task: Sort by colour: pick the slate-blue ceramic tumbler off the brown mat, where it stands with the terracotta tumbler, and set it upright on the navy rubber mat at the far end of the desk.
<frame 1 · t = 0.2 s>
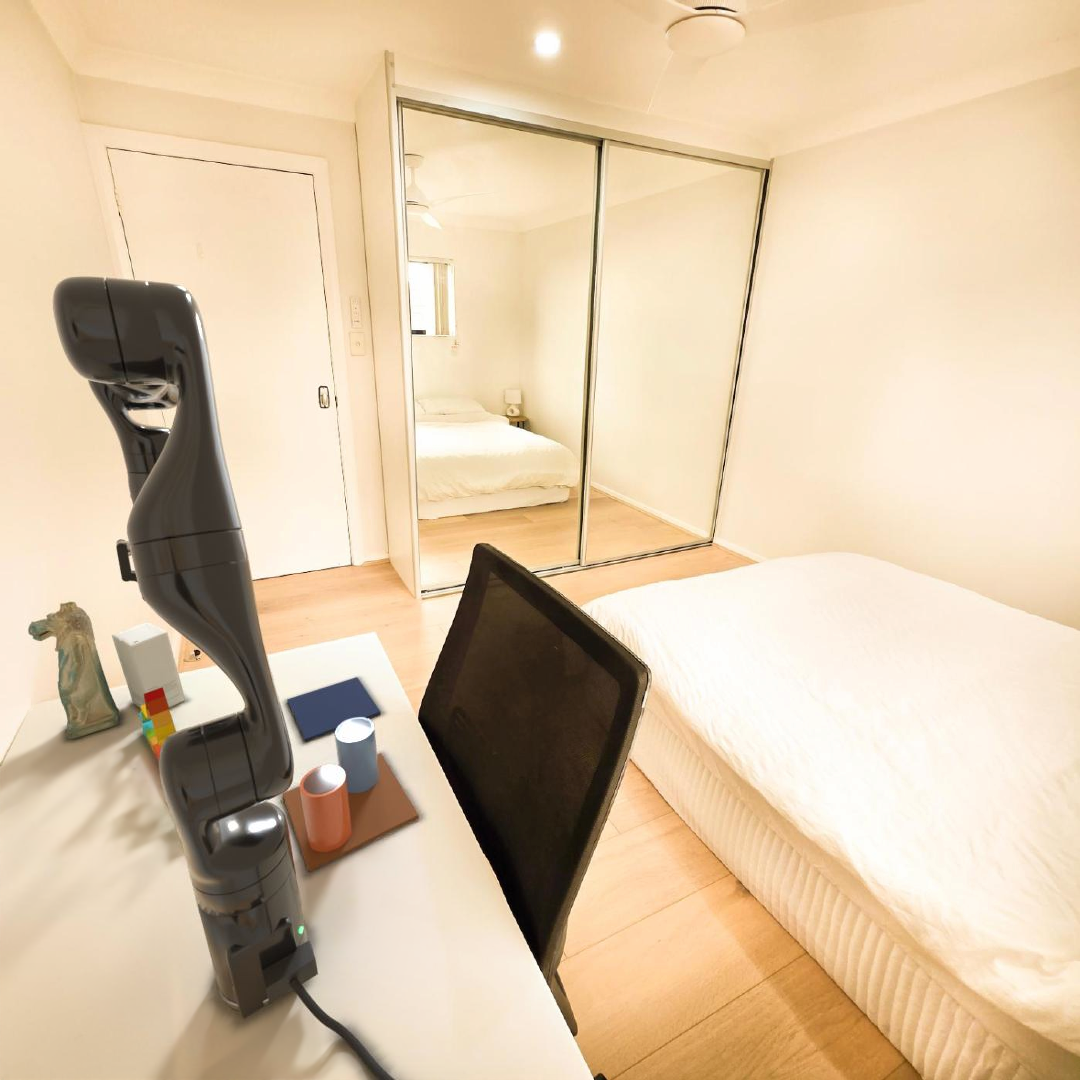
hand: (184, 595, 85), 29 cm above the table, tool pointing down, fingers open, 8 cm apart
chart: (178, 773, 88), on the table
statue: (93, 727, 98), on the table
navy mat: (333, 707, 105), on the table
brown mat: (349, 806, 83), on the table
terracotta tumbler: (330, 834, 77), point 1 cm above the table, touching brown mat
blue tumbler: (360, 779, 87), point 1 cm above the table, touching brown mat
cosmetic box: (158, 702, 105), on the table
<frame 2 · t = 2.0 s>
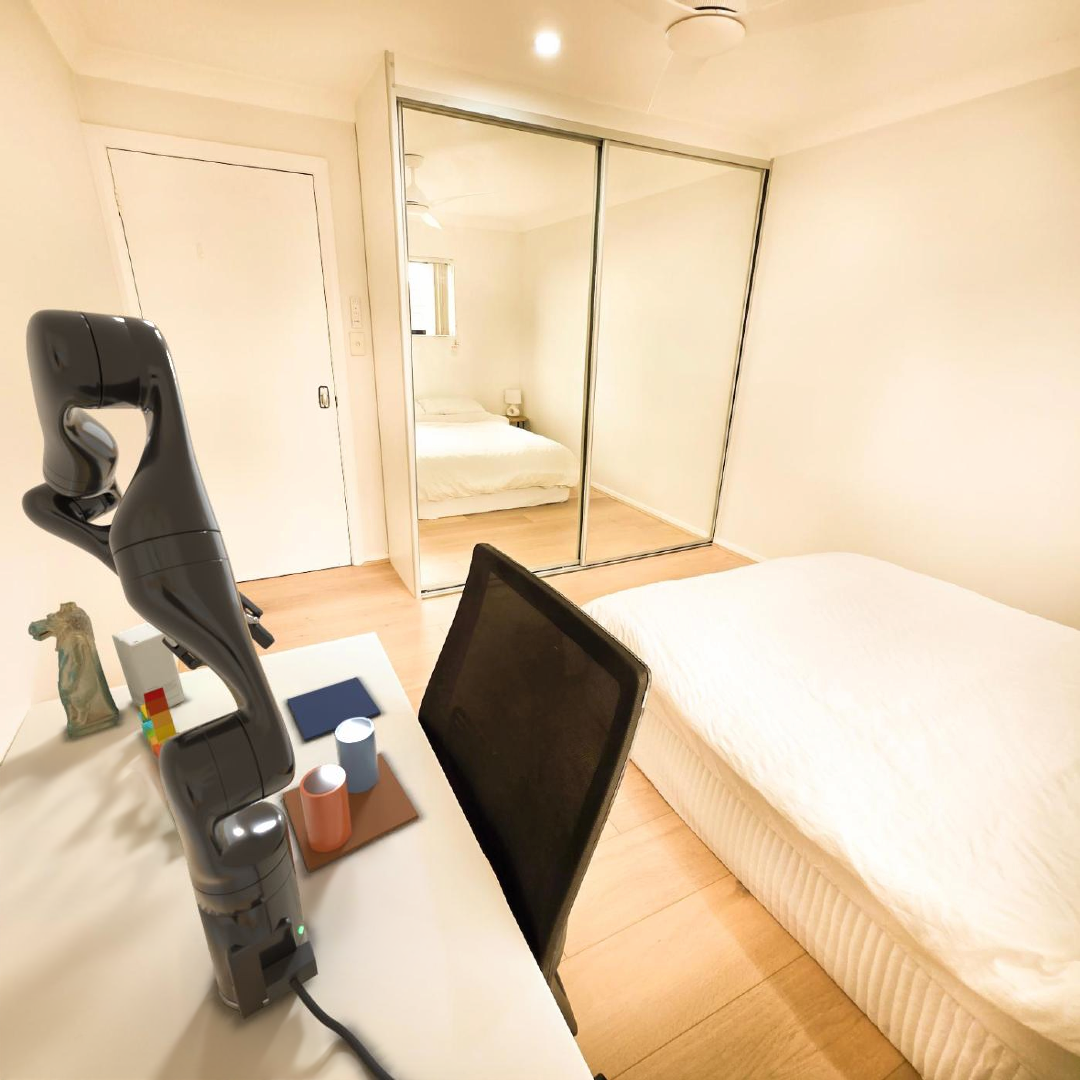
hand: (254, 660, 80), 23 cm above the table, tool tilted 45°, fingers open, 8 cm apart
nothing on the table moved.
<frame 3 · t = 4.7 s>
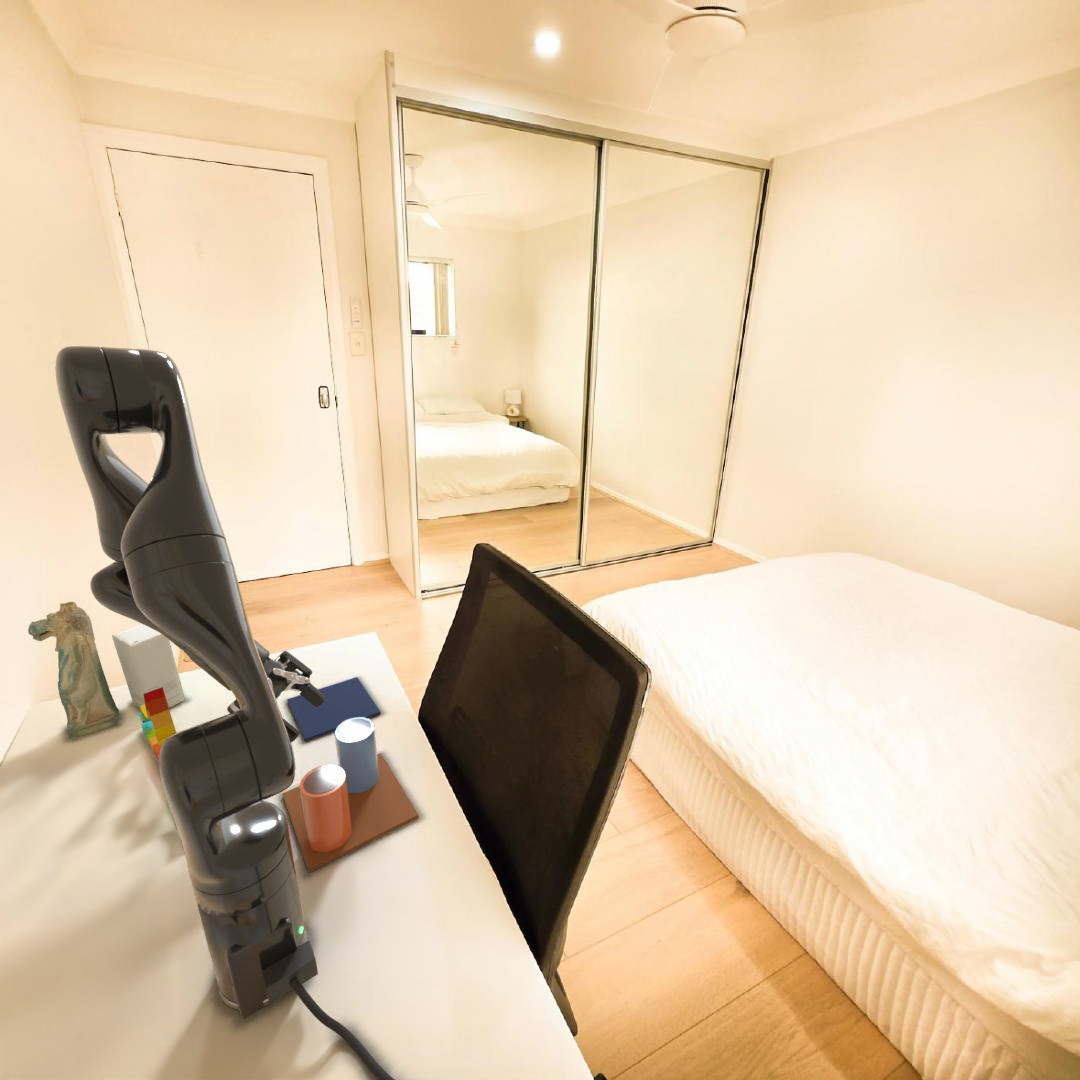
hand: (309, 719, 84), 12 cm above the table, tool tilted 45°, fingers open, 8 cm apart
nothing on the table moved.
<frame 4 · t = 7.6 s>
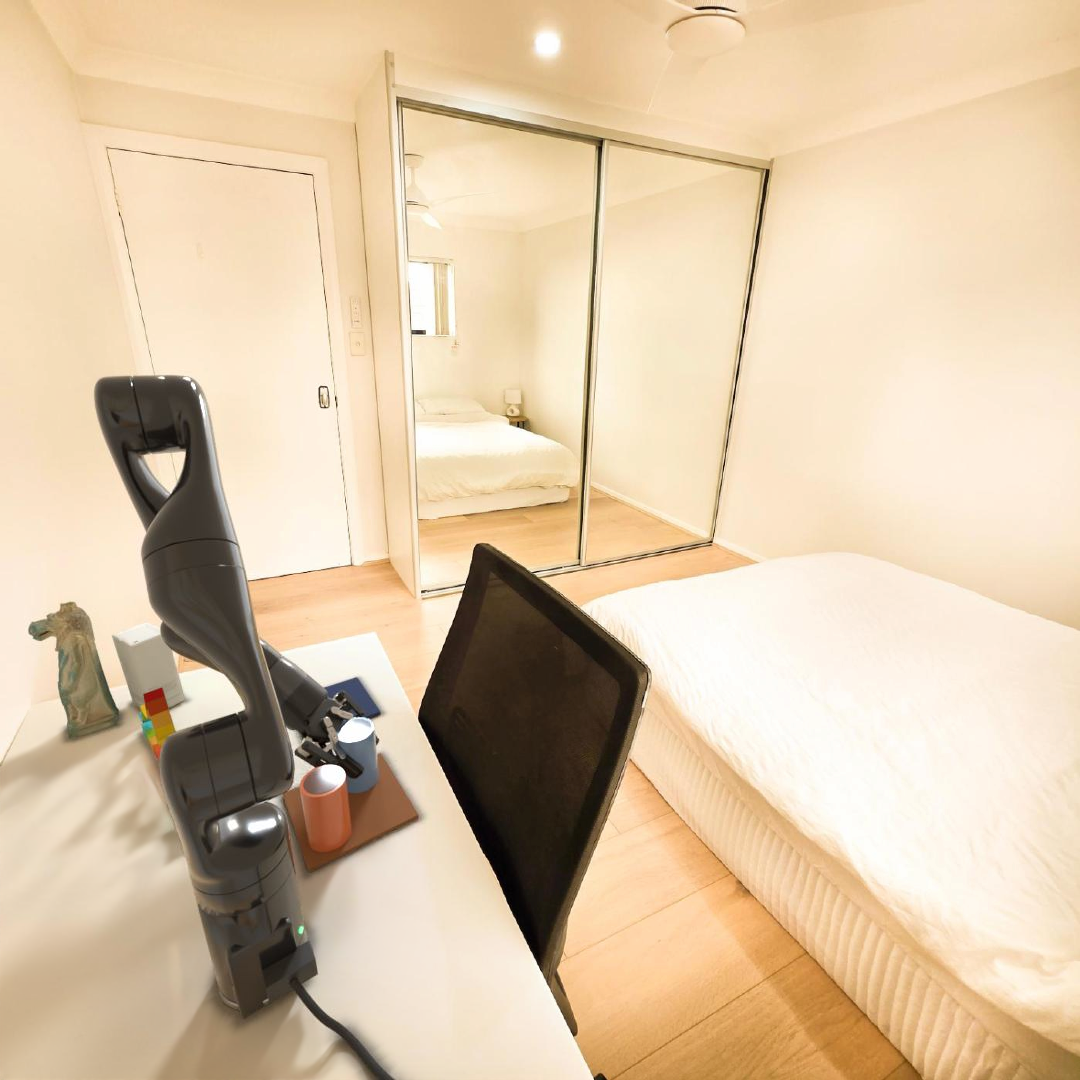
hand: (368, 758, 86), 5 cm above the table, tool tilted 45°, fingers closed on blue tumbler, 6 cm apart
blue tumbler: (360, 779, 87), point 1 cm above the table, touching brown mat, gripper
everything else where it was.
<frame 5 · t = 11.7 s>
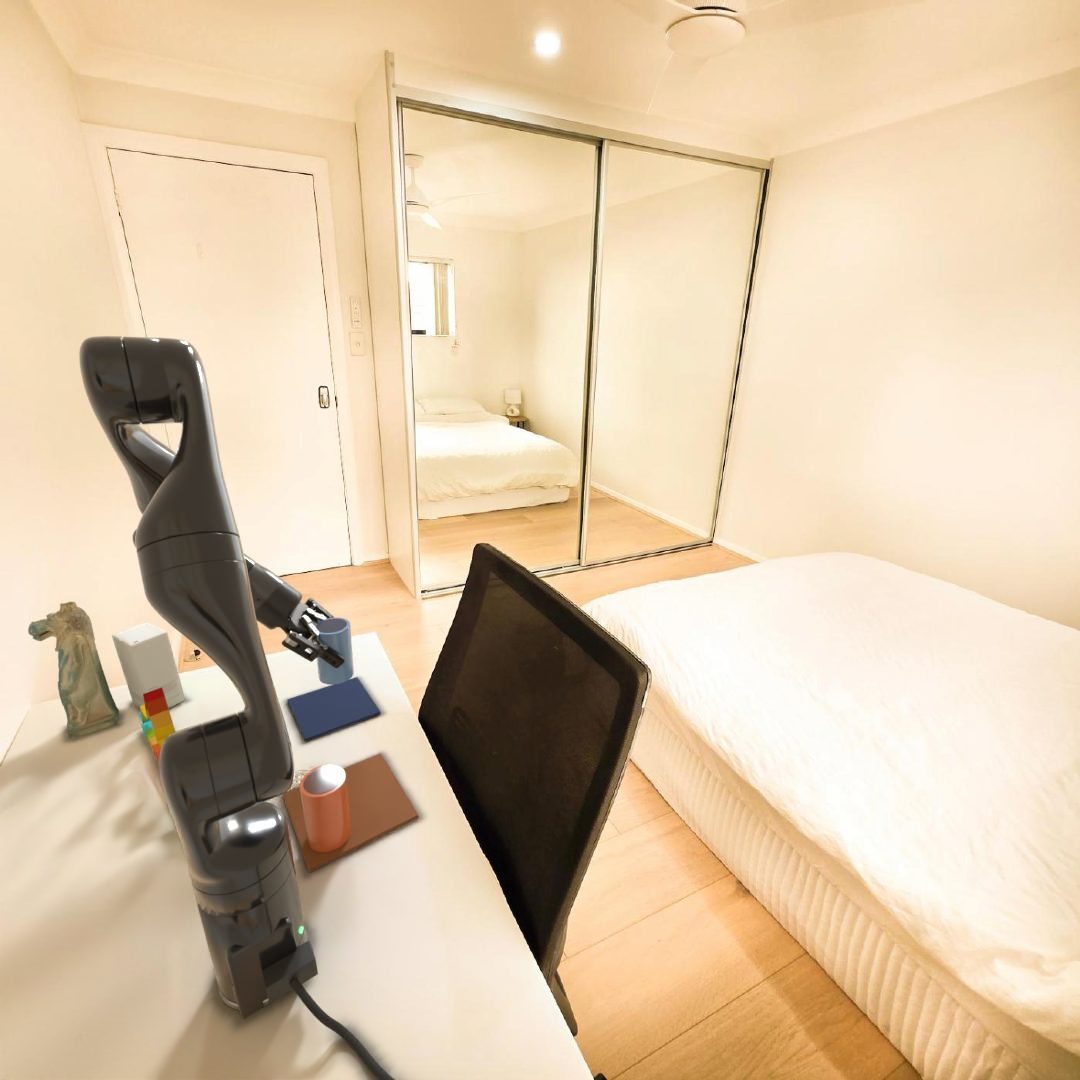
hand: (344, 653, 94), 16 cm above the table, tool tilted 45°, fingers closed on blue tumbler, 6 cm apart
blue tumbler: (336, 674, 95), point 12 cm above the table, touching gripper
everything else where it was.
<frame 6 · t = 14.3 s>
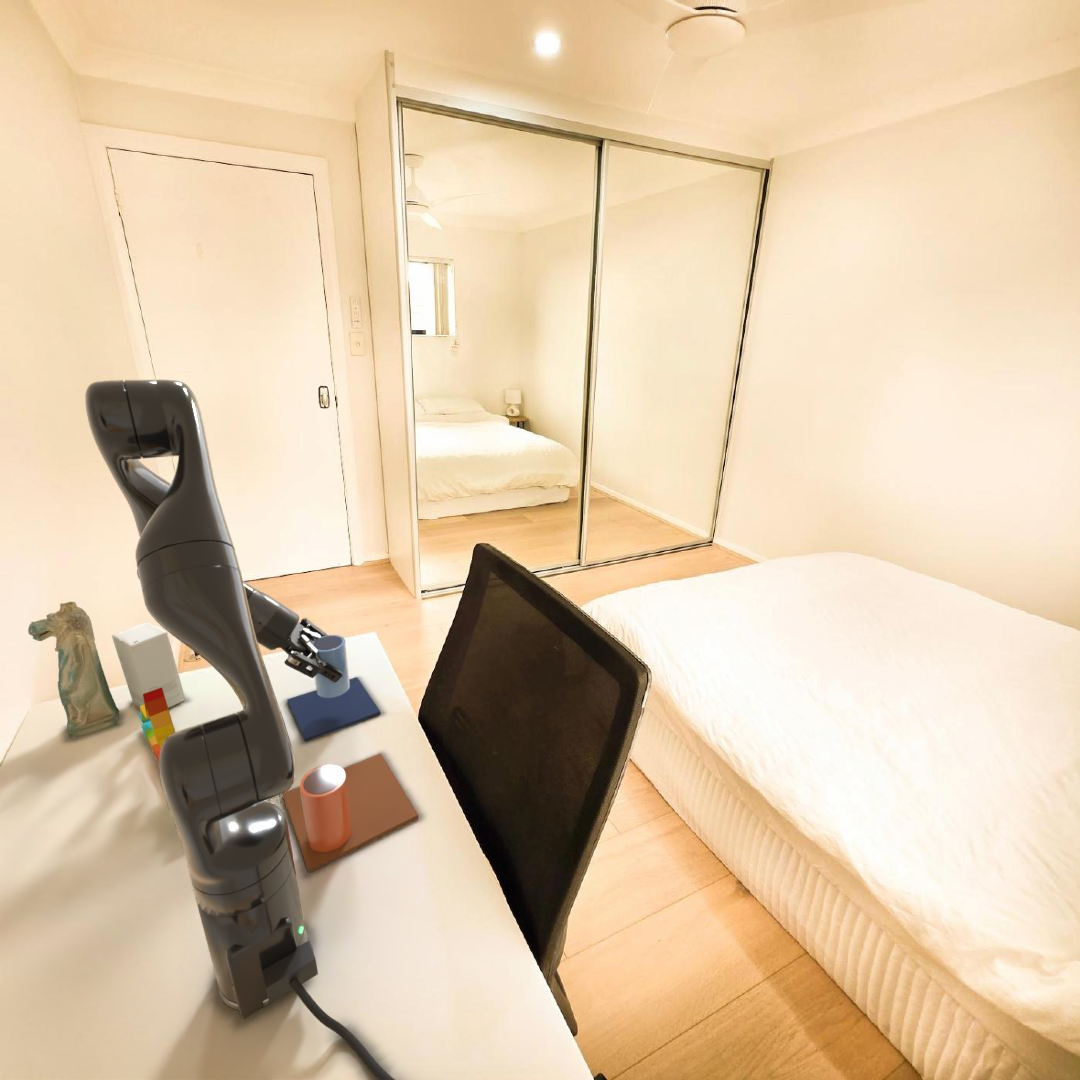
hand: (340, 667, 101), 10 cm above the table, tool tilted 45°, fingers closed on blue tumbler, 6 cm apart
blue tumbler: (333, 688, 102), point 6 cm above the table, touching gripper
everything else where it was.
when the fingers open (5 cm above the table, at t = 16.3 s): blue tumbler stays where it is, resting on navy mat.
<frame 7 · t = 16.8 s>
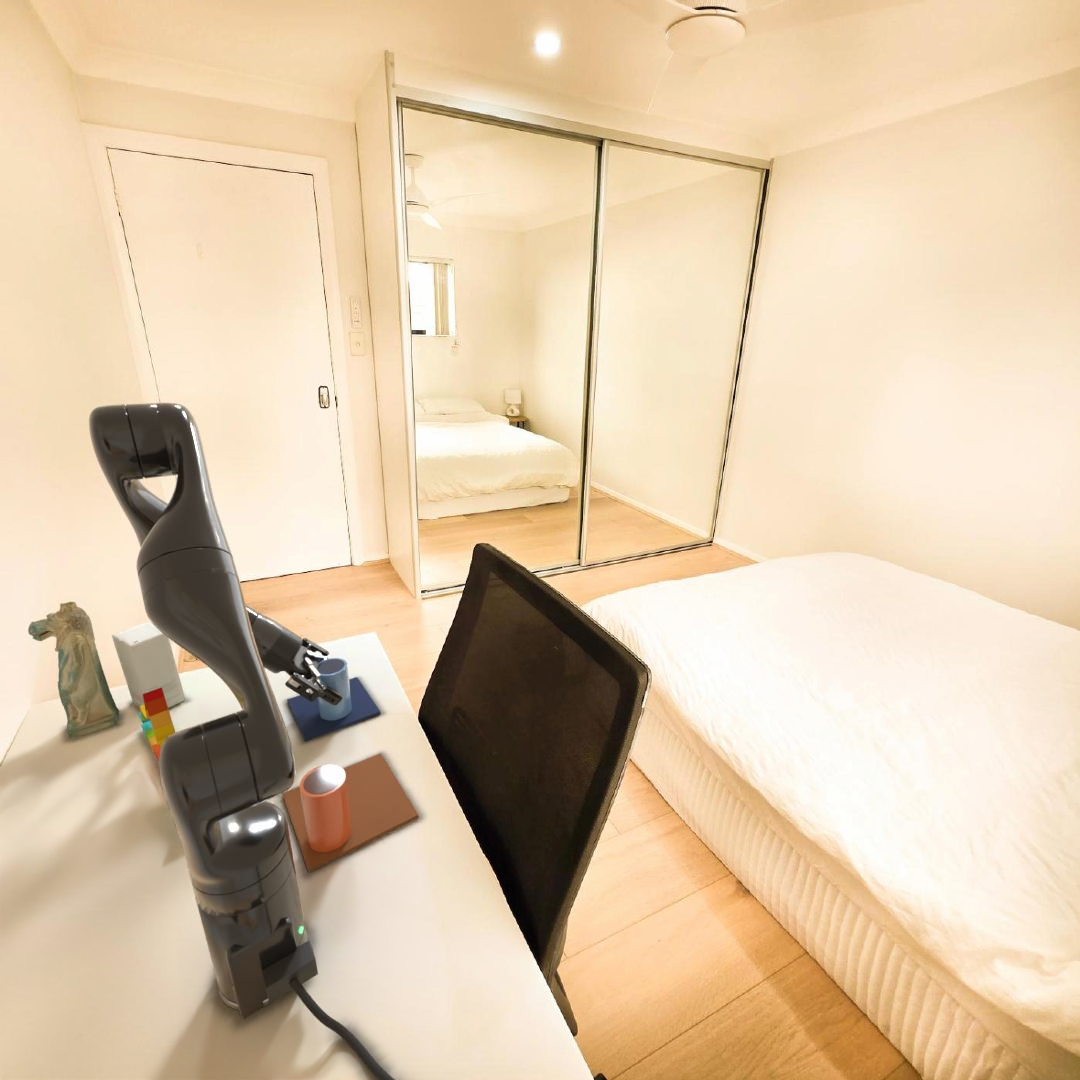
hand: (341, 687, 102), 6 cm above the table, tool tilted 45°, fingers open, 8 cm apart
blue tumbler: (335, 710, 103), point 1 cm above the table, touching navy mat
everything else where it was.
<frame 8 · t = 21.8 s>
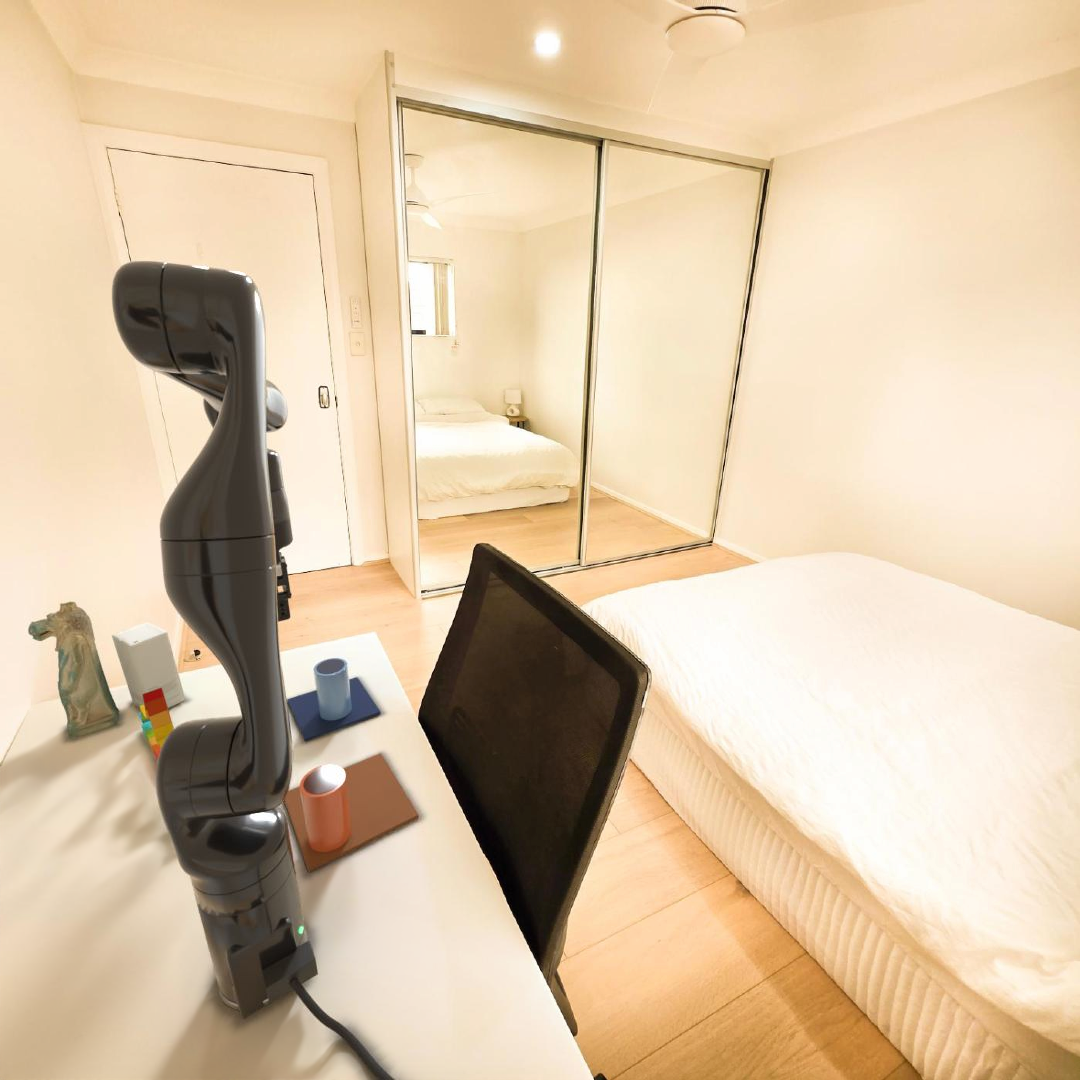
hand: (277, 609, 88), 26 cm above the table, tool pointing down, fingers open, 8 cm apart
nothing on the table moved.
at the end: blue tumbler inside the target area on the navy mat (1.9 cm from its centre), point 0.6 cm above the navy mat's base; blue tumbler tilted 0°; terracotta tumbler inside the target area on the brown mat (5.7 cm from its centre), point 0.6 cm above the brown mat's base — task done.
